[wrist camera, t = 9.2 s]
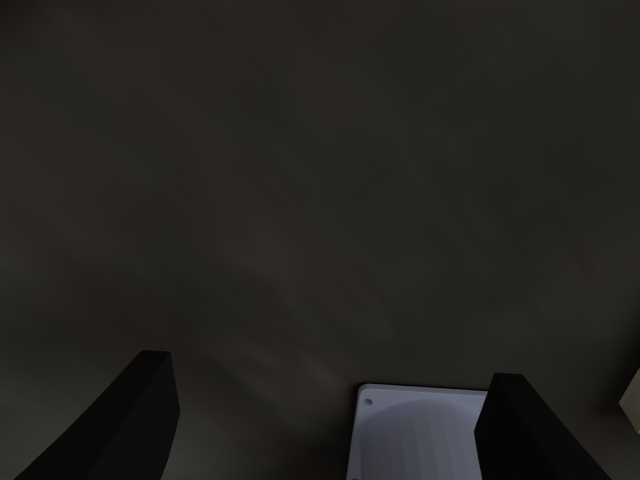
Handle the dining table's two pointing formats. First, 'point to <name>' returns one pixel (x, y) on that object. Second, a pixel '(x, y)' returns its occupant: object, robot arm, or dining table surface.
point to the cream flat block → (632, 401)
